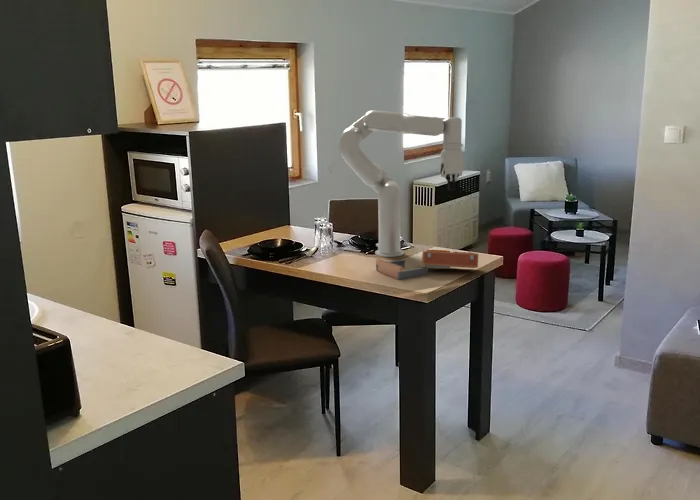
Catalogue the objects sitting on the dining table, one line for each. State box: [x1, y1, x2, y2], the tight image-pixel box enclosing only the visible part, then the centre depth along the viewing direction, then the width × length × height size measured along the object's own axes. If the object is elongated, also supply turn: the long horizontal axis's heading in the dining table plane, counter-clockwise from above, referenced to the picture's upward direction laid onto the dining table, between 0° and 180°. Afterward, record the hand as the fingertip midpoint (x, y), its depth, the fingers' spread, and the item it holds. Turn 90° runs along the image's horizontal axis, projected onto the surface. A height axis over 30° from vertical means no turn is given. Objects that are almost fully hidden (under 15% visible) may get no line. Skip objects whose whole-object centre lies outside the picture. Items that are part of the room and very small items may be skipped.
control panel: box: [421, 249, 479, 270], centre depth 261 cm, size 21×7×15 cm
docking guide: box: [375, 258, 428, 281], centre depth 260 cm, size 16×13×5 cm
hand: (451, 190), depth 282 cm, fingers closed
